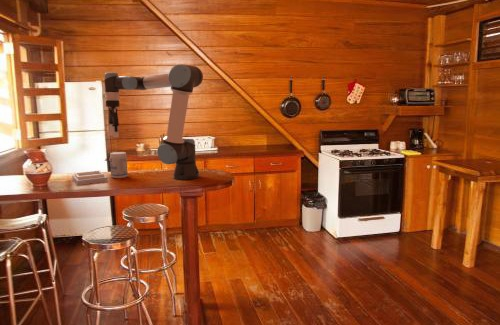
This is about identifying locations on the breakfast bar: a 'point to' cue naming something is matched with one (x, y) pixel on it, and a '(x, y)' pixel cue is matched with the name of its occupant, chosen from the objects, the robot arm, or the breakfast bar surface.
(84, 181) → the base plate
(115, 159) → the supplement tub
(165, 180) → the breakfast bar surface
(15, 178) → the breakfast bar surface
